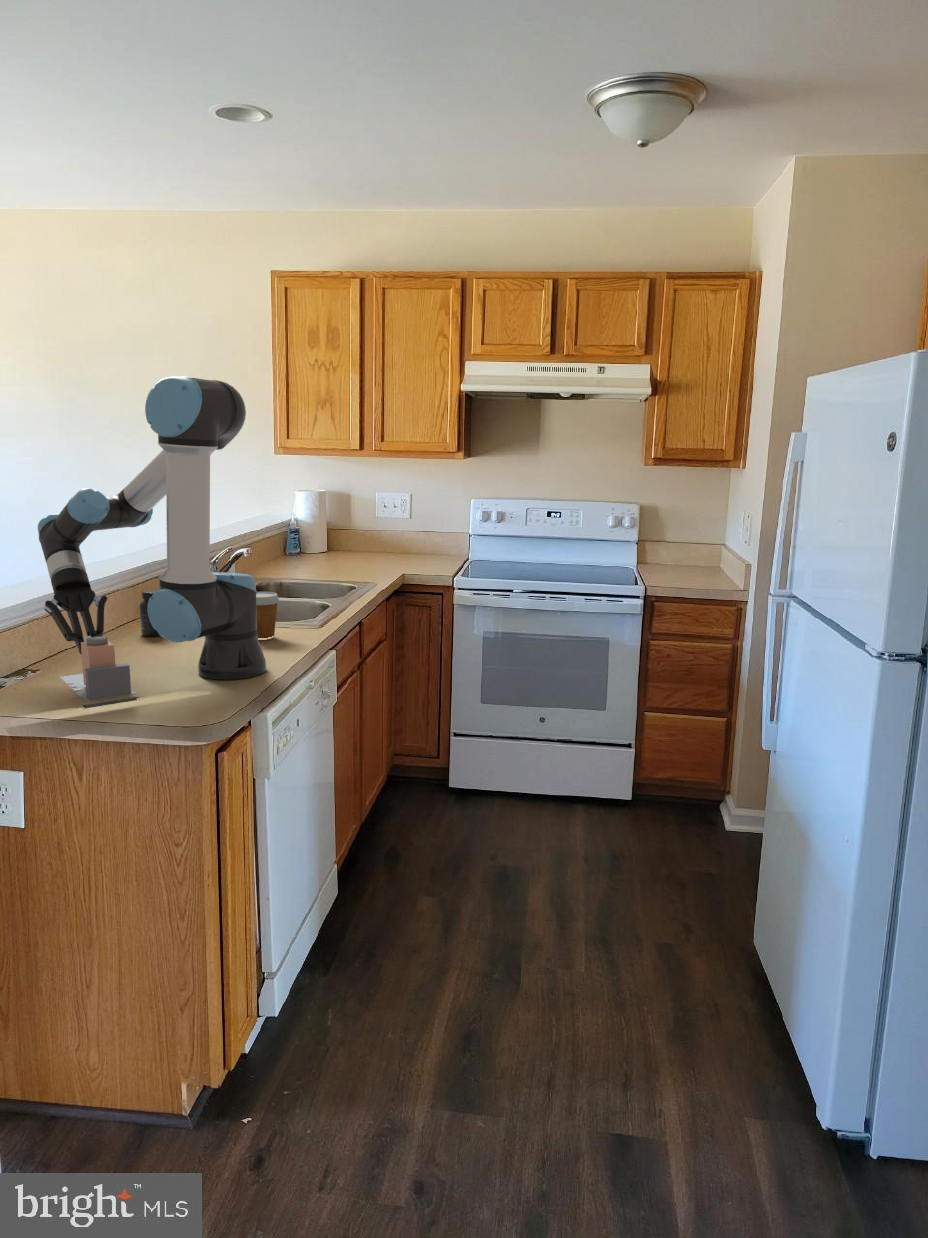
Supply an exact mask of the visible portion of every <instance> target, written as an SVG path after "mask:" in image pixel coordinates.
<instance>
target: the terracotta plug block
mask: <svg viewBox="0 0 928 1238" xmlns="http://www.w3.org/2000/svg"><path fill="white" fill-rule="evenodd" d="M86 641H87V642H81V652H82V654H81V662H82V674H83V679H84V685H85V686H86V675H85V669H88V668H95V667H102V666H110V665H116V656H115V655H116V653H115V644H113V643H112V642H110V641H109V640H108V637H106V636H102V637H91V638H88V639H86Z"/></svg>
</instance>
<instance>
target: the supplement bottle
mask: <svg viewBox="0 0 928 1238" xmlns="http://www.w3.org/2000/svg"><path fill="white" fill-rule="evenodd" d="M158 590H159V589H149V590H144V591H143V590H142V592H141V599H142V600H141V602H140V603H139V604H138V611H139V612H138V613H139V622H140V623H139V624H140V633H141V635H142V636H143V637H146V638H147V637H148V638H154V637H161V636H160V635H159V634H158V632H157V630H155V629H154V628H153V626H152V624H151V622H150V620H149V616H148V610H147V607H148V601H149V599H150V597H152V595H153V594H154V593H155V592H156V591H158Z"/></svg>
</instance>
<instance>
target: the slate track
mask: <svg viewBox="0 0 928 1238" xmlns="http://www.w3.org/2000/svg"><path fill="white" fill-rule="evenodd" d="M130 669H131V668H130V665H129V664H128V663H126V662H125V663H118V664H115V665H110V666H102V667H95V668H88V669H85V675H86V686H85V685H84V679H83V673H76V674H69V675H64V676H59V678H60V679H61V680H62V681H63V682H64V683H65V684H66V685H67V686H68V687H69V688H70V689H71V690H72V691H73V692H74V693H75V694H76V695H77V696H79V698H80V699H82V701H84V702H88V701H89V702H90V701H97V700H102V699H103V700H104V699H109V698H110V699H111V698H115V697H122V696H128V695H135V694H137V692H136V691H134V689H132V686H131V684H132V683H131V682H132V681H131V670H130ZM137 700H138V697H137V696H134V697H133V696H132V697H128V698H123V699H116V700H109V701H102V702H97V703H90V704H89V703H88V704H84V705H82V707H83V708H84V709H90V708H96V707H103V706H109V705H116V704H122V703H129V702H133V701H134V702H135V701H137Z"/></svg>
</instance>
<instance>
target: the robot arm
mask: <svg viewBox="0 0 928 1238" xmlns="http://www.w3.org/2000/svg"><path fill="white" fill-rule="evenodd" d="M144 407H145V408H144V412H145V418H146V422H147V423H148V424H149V425H150V428H151V430H152V431H153V433H156V434H157V438H158V439H157V444H158V446H159V447H160V448H161V449H162V450H161V451H159V453H158V454H156V456H155V458H153V459H152V460H151V461H150V462H149V463H148V464H147V465H146V466H145V467H144V468H143V469H142V470H141V471H140V472H139V473H138V474H137V476H135V477H134V478H133V479H132V480H131V481H130V482H129V483H128V484H127V485H125V487H124V488H123V489H122V490H121V491H120V492H119V493H117V494H115V495H104V494H103V493H102V492H100V491H99V490H97V489H95V490H94V489H92V488H91V487H84V488H81V489H80V490H78V491H77V492H76V493H75V494H74V495H73V496H72V497H71V498H70V499H69V500H68V502H67V503H66V505H65V506H64V507H62V509H61V510H60V512H59V513H53V514H48V515H47V516H46V517H43V518H41V519H40V520H39V522H38V524H37V532H38V542H39V544H40V547H41V550H42V553H43V556H44V560H45V564H46V567H47V568H46V569H47V571H48V575H49V579H50V584H51V587H52V590H53V599H51V600H49V599H48V600H46V601H45V602H44V609H43V610H44V611H45V612H46V613H48V614H49V615H50V616H51V617H52V619H53V621H54V622H55V624H56V626H57V627H58V629H59V631H60V632H61V634H62V637H63V638H64V639H65V641H66V642H74V644H75V645H76V646H77V650H78V653H79V654H80V655H82V652H81V642H87V641H86V639H88V638H91V637H103V634H104V632H105V631H104V630H105V607H106V605H107V601H108V596H106V595H102V596H99V595H96V592H95V591H94V590H93V589H92V587H91V584H90V580H89V576H88V573H87V568H86V565H85V563H84V559H83V554H82V553H81V550H80V546H81V545H82V544H83V542H84V541H85V540H86V539H87V538H88V537H89V536H90V534H91V533H92V532H96V531H104V530H113V529H114V530H115V529H123V528H137V527H139V526H144V525H146V524H148V523H149V522H150V521H151V520H152V515H153V514H154V510H153V508H154V507H155V506H156V505H157V504H158V503H160V502H161V500H163V499H164V498H165V497H166V498H165V499H166V569H165V570H164V571H163V572H162V573H161V574H160V575H159V578H158V581H159V583H158V584H159V585H158V587H159V589H157V590H158V591H156V592H155V593H154V594H153V595H152V597H150V599H149V601H148V607H147V610H148V616H149V620H150V622H151V624H152V626H153V628H154V629H155V630H157V632H158V634H159V635H160V636H159V637H161V638H163V639H165V640H166V641H169V642H171V643H184V642H192V641H195V640H196V639H200V638H202V637H204V643H203V646H202V650H201V652H200V657H199V660H198V666H197V668H198V675H199V676H201V677H202V678H207V679H211V680H221V681H222V680H229V681H230V680H241V679H248V678H249V679H250V678H253V677H257V676H261V675H262V674H264V673H265V672H266V671H267V662H266V661H267V660H266V657H265V655H264V652H263V649H262V647H261V644H260V641H258V638H257V608H256V593H257V592H258V591H257V588H256V579H255V578H254V576H253V575H251V574H249V573H248V574H247V573H238V572H225V571H224V572H222V571H212V570H211V568H210V564H211V563H210V552H211V551H210V548H211V547H210V546H211V545H210V544H211V542H210V540H211V531H210V530H211V524H210V523H211V519H210V518H211V517H210V516H211V455H212V454H213V453H214V452H215V451H216V450H217V451H222V450H223V449H225V447H226V446H227V445H229V444H230V442H232V441H233V440H234V439H235V438H236V436H238V434H239V433H240V431H241V430H242V428H243V426H244V424H245V422H246V421H245V420H246V415H247V409H246V404H245V400H244V399H243V397H242V396H241V394H240V392H239V391H238V390H237V389H236V388H235V387H234V386H232V385H230V384H229V382H228V383H227V382H226V381H221V380H215V379H204V378H198V377H197V378H196V377H190V376H184V375H183V376H169V377H165V378H161V379H160V380H159V381H156V384H155V385H154V386H152V388H151V389H150V390H149V392H148V395H147V397H146V400H145V405H144ZM93 602H94V605H95V606H96V608H97V609H96V630H95V626H94V621H93V619H92V615H91V613H90V607H91V605H92V604H93ZM59 607H60V608H61V609H62V610H63V611H65V612H66V613H67V616H68V618H69V622H70V625H69V623H68V621H67V620H66V618H65V617H64V614H62V612H61V610H60V608H59ZM78 613H79V614H80V617H81V619H82V623H83V626H84V629H85V630H84V631H85V633H86V635H84V633H83V629H82V626H81V622H80V619H79V616H78V615H79V614H78Z"/></svg>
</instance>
